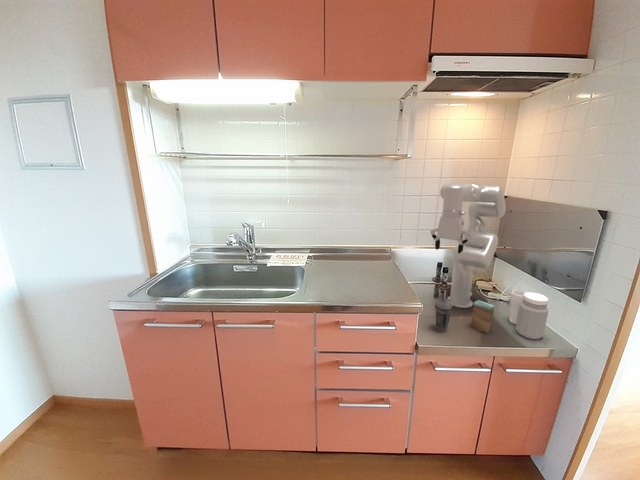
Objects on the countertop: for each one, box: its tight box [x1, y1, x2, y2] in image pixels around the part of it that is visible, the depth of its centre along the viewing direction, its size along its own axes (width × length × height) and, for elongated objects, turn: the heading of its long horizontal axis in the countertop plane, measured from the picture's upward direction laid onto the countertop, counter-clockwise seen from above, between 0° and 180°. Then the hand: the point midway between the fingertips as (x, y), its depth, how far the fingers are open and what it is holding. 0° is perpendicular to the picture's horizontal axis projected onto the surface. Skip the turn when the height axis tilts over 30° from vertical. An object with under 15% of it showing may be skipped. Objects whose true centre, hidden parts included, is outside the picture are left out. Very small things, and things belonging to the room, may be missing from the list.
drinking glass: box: [508, 289, 527, 325], centre depth 127 cm, size 7×7×15 cm
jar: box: [515, 291, 549, 340], centre depth 117 cm, size 10×10×18 cm
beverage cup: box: [434, 289, 454, 333], centre depth 123 cm, size 7×7×20 cm
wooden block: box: [470, 299, 495, 334], centre depth 123 cm, size 4×7×12 cm, turn 37°
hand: (448, 250), depth 125 cm, fingers open, 9 cm apart
